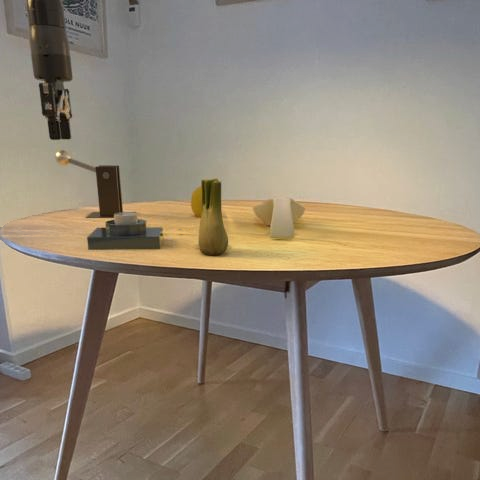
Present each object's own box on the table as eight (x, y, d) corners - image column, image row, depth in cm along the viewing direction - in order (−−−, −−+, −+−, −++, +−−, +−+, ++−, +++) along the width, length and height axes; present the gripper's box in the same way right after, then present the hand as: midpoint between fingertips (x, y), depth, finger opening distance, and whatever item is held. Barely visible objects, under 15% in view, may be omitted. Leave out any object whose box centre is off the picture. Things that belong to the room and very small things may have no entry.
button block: (88, 250, 79) (85, 226, 77) (98, 239, 87) (96, 217, 86) (160, 249, 80) (158, 225, 79) (163, 238, 88) (162, 217, 87)
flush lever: (52, 162, 101) (55, 148, 100) (56, 162, 104) (59, 147, 103) (111, 184, 104) (115, 170, 103) (113, 183, 107) (117, 169, 106)
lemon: (199, 218, 112) (198, 183, 109) (219, 220, 109) (219, 184, 106) (186, 221, 107) (185, 185, 104) (207, 223, 105) (207, 186, 102)
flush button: (112, 225, 80) (112, 215, 80) (116, 222, 84) (115, 212, 83) (136, 225, 81) (135, 215, 80) (139, 221, 84) (138, 212, 84)
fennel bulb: (199, 249, 80) (197, 176, 76) (227, 249, 80) (228, 177, 76) (197, 257, 75) (196, 179, 70) (228, 257, 75) (228, 180, 71)
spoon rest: (252, 219, 110) (252, 188, 108) (301, 220, 110) (303, 188, 108) (252, 239, 88) (253, 201, 86) (314, 240, 88) (317, 202, 86)
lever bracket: (86, 222, 104) (80, 166, 100) (93, 216, 111) (88, 164, 107) (132, 222, 105) (128, 167, 100) (136, 216, 112) (132, 165, 108)
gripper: (42, 59, 101) (52, 139, 107) (19, 47, 88) (32, 139, 94) (77, 60, 102) (85, 139, 108) (60, 48, 89) (71, 140, 95)
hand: (61, 139), depth 101 cm, fingers open, 8 cm apart
